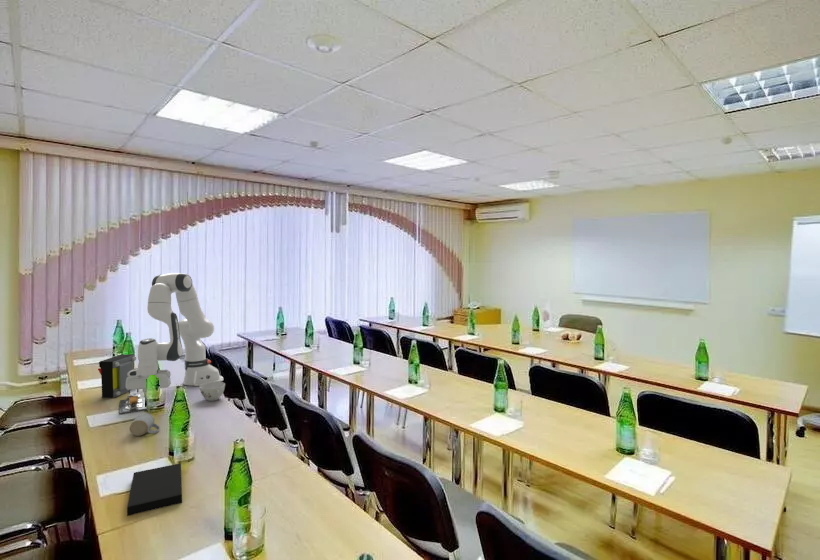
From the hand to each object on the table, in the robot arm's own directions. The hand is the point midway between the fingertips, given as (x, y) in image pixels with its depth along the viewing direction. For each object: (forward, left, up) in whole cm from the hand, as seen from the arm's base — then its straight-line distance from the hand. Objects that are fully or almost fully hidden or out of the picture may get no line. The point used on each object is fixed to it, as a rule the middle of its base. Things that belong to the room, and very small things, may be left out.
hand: (148, 396), depth 221 cm
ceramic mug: (+2, +42, -4) cm, 42 cm away
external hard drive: (0, +98, -4) cm, 98 cm away
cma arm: (+7, -7, -1) cm, 9 cm away
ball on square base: (+7, -17, -4) cm, 19 cm away
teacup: (-29, +10, -4) cm, 31 cm away
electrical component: (+14, -31, -4) cm, 34 cm away
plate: (+7, -1, -4) cm, 8 cm away
